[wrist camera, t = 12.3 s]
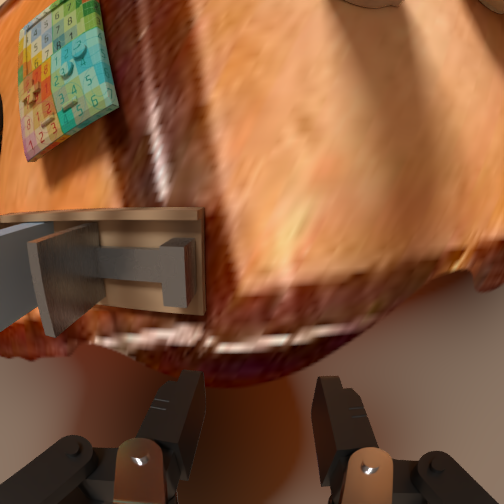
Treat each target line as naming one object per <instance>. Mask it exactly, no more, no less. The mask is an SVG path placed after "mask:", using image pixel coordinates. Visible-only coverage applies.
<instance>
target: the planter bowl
mask: <svg viewBox="0 0 504 504" xmlns="http://www.w3.org/2000/svg"><path fill="white" fill-rule="evenodd" d="M479 1H480V2H481V3H482V4H484V5H485V6H486V7H487V8H489V9H490V10H492V11H494V12H496V13H499V14H504V0H479Z"/></svg>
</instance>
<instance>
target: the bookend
mask: <svg viewBox="0 0 504 504" xmlns="http://www.w3.org/2000/svg"><path fill="white" fill-rule="evenodd" d="M27 249H28V256H29V263H30V269H31V275H32V280H33V286H34V290H35V295H36V300H37V304H38V308H39V312H40V316H41V320H42V324H43V327H44V331H45V334H46V335H47V336H51V337H55V338H56V337H57V336H58V335H59V334H61V333H62V332H63V331H64V330H65V329H66V328H68V327H69V326H70V325H71V324H72V323H74V322H75V321H76V320H77V319H78V318H80V317H81V316H82V315H83V314H85V313H86V312H87V311H88V310H89V309H91V308H92V307H93V306H94V305H96V304H97V303H98V302H99V301H101V300H102V299H103V298H104V297H106V294H105V288H104V280H103V278H108V279H120V280H132V281H145V282H158V283H162V294H163V305H164V306H167V307H179V308H187V307H188V305H189V304H190V302H191V301H192V299H193V297H194V296H195V294H196V292H197V290H196V261H195V238H179V237H173V238H171V239H170V240H168V241H167V242H165V243H164V244H162V245H161V246H159V248H147V247H119V246H100V244H99V231H98V222H91V223H85V224H82V225H79V226H75V227H72V228H69V229H66V230H62V231H59V232H56V233H53V234H50V235H47V236H44V237H41V238H38V239H35V240H32V241H29V242H27Z"/></svg>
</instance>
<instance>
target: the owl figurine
mask: <svg viewBox="0 0 504 504" xmlns="http://www.w3.org/2000/svg"><path fill="white" fill-rule="evenodd" d="M2 128H3V110H2V100H1V96H0V132H1V130H2ZM1 140H2V135H0V150H1Z"/></svg>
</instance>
